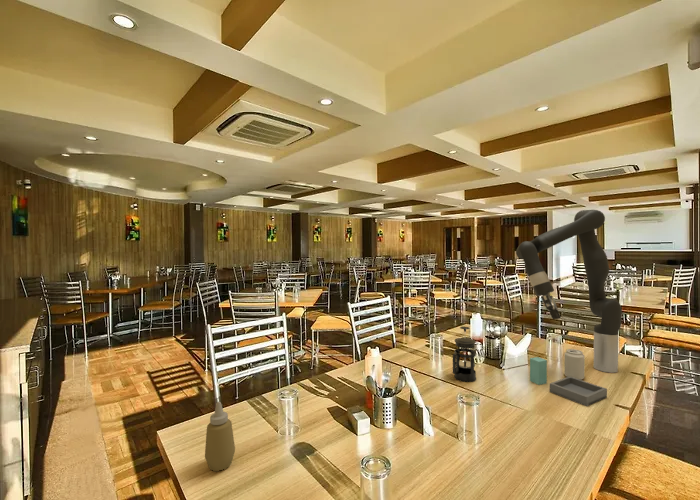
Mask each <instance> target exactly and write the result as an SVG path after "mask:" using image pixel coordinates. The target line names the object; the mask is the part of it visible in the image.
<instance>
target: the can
mask: <svg viewBox="0 0 700 500" xmlns="http://www.w3.org/2000/svg"><path fill="white" fill-rule="evenodd" d="M585 360H586V359H585V354H584V352H583V351H582V350H580V349H575V348H568V349H566V351H565V352H564V365H563V366H564V367H563V369H564V372H563V373H564V375H565V376H566V377H569V376H570V377H573V378H576V379H579V380H582V381H583V379H585ZM566 377H565V378H566Z"/></svg>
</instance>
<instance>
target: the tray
mask: <svg viewBox="0 0 700 500" xmlns="http://www.w3.org/2000/svg"><path fill="white" fill-rule="evenodd" d="M549 393H551V394H553V395H554V394H555V395H556V396H559V397H562V398H564V399H567V400H569V401H571V402H575V403H577V404H579V405H582V406H583V407H589V406H592V405H594V404H596V403H598V402H600V401H603V400H605V399H607V398H608V388H606V387H603V386H600V385H597V384H593V383H590V382H588V381H585V380H583V379H582V380H579V379H576V378H573V377H570V376H569V377H563V378H561V379H560V378H559V379H557V380H556V381H553V382H550V383H549Z"/></svg>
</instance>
